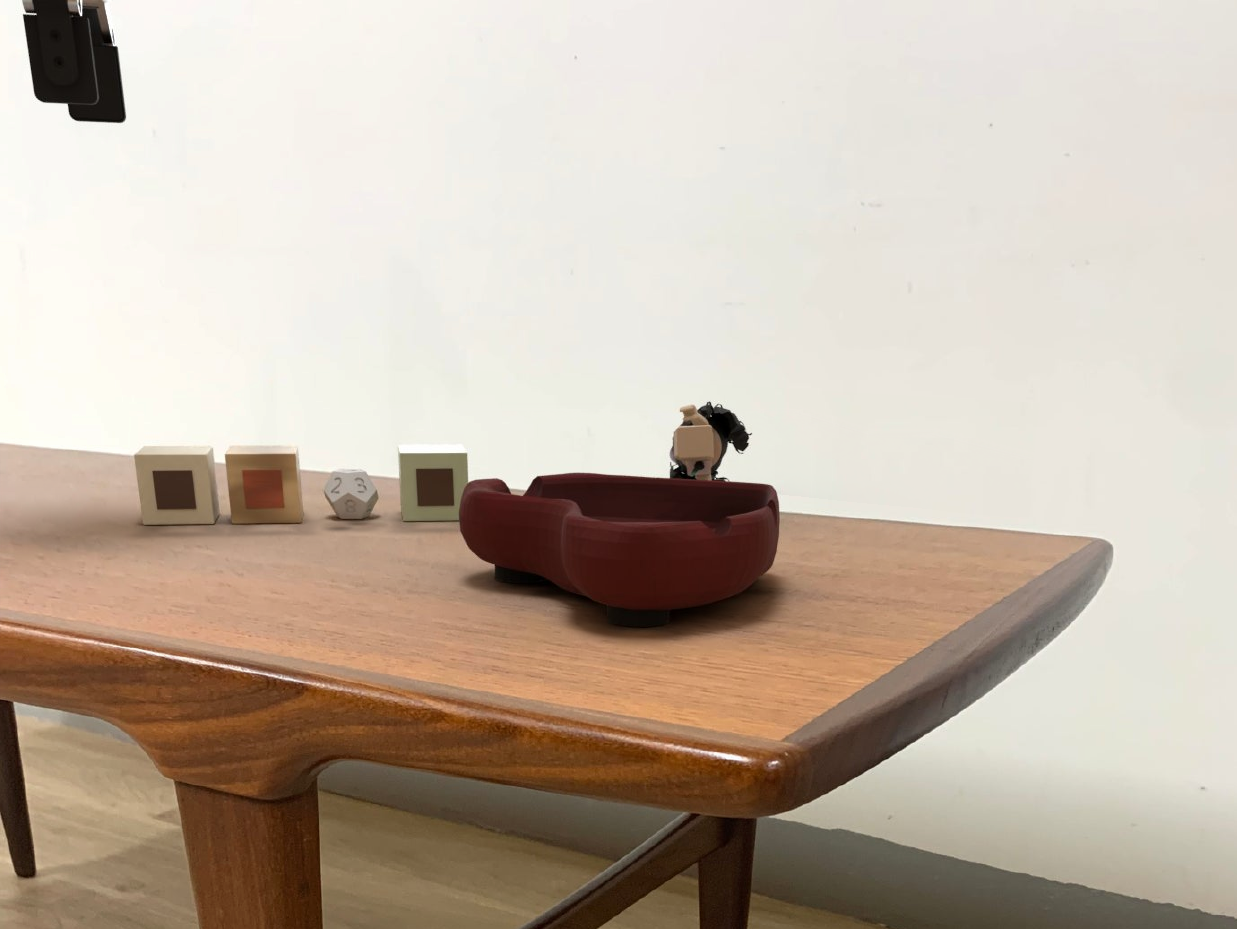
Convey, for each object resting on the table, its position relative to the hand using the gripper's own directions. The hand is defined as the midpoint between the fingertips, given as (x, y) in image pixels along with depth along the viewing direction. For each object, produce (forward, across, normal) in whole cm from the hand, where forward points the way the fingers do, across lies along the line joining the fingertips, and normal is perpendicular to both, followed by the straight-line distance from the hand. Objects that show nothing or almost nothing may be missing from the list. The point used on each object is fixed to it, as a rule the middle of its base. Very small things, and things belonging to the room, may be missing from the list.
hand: (84, 112), depth 76 cm
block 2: (+23, -2, +8) cm, 25 cm away
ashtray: (+23, +23, +29) cm, 44 cm away
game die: (+23, -2, +14) cm, 27 cm away
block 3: (+23, -2, +19) cm, 30 cm away
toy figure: (+20, -6, +36) cm, 42 cm away
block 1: (+23, -2, +2) cm, 23 cm away
